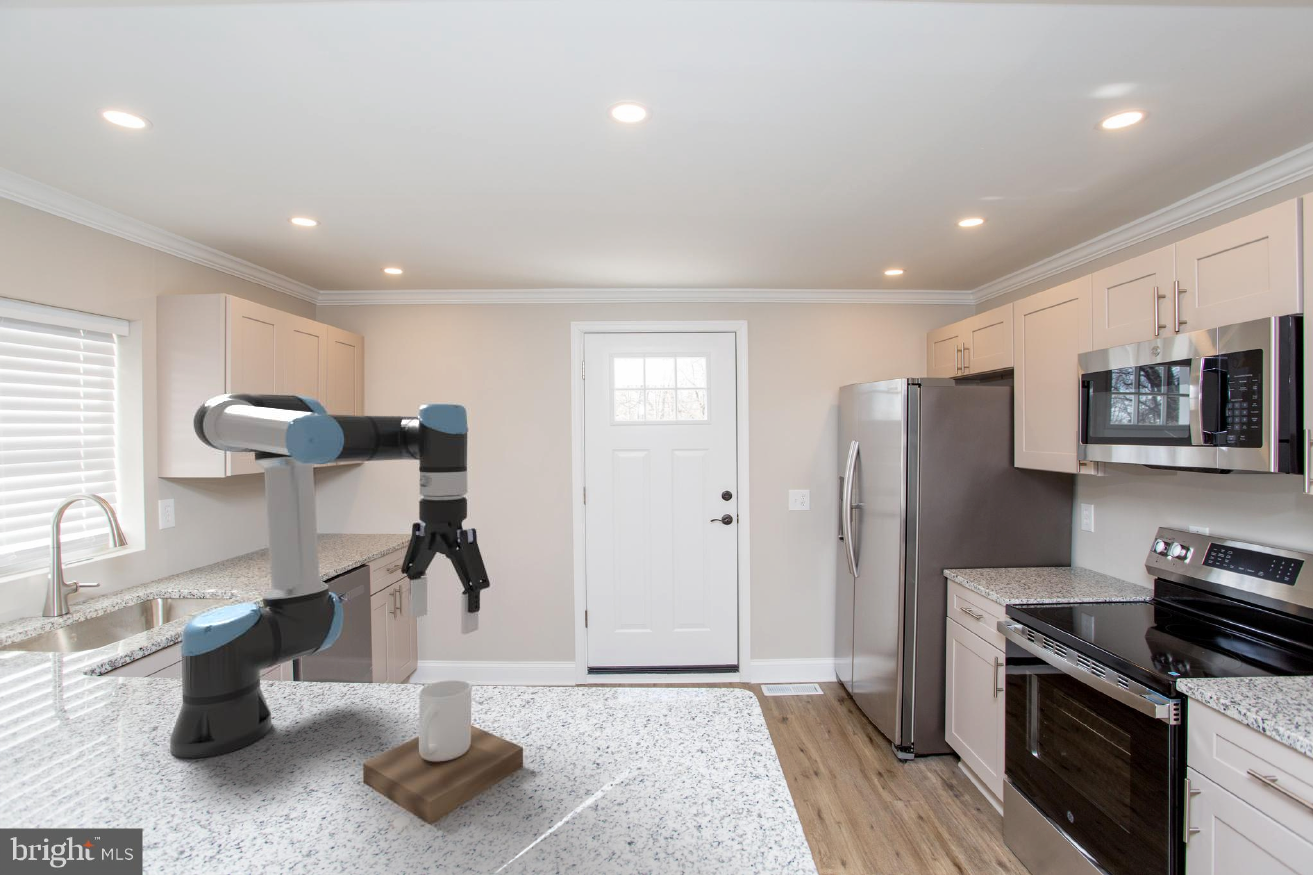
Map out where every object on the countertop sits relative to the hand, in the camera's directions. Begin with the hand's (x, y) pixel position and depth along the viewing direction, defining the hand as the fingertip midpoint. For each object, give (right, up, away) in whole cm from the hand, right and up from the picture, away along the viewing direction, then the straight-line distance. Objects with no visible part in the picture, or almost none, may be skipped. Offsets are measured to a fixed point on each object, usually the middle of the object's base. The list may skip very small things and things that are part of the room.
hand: (443, 623), depth 98 cm
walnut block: (0, -26, 0) cm, 26 cm away
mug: (0, -22, -1) cm, 22 cm away
